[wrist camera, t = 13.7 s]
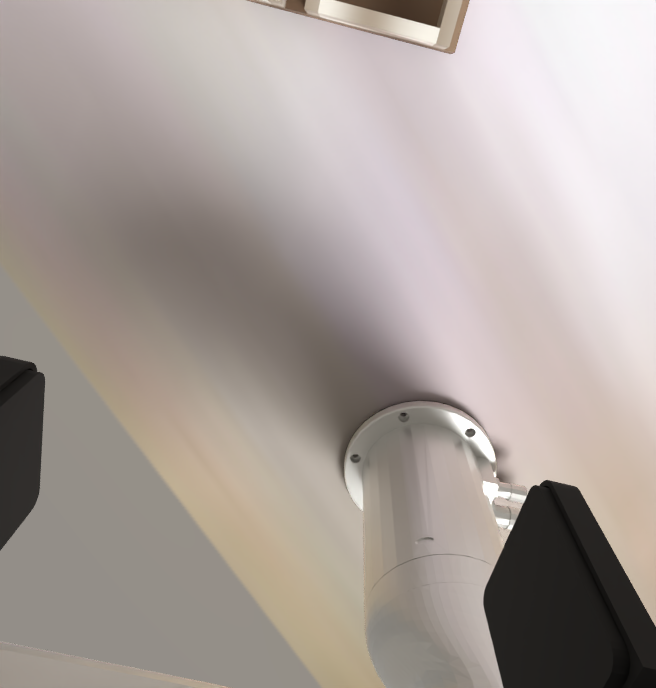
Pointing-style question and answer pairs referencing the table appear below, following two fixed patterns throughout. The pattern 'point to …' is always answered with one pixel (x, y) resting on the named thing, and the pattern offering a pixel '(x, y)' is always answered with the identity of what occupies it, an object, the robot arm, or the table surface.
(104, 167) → the table surface
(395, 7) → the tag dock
